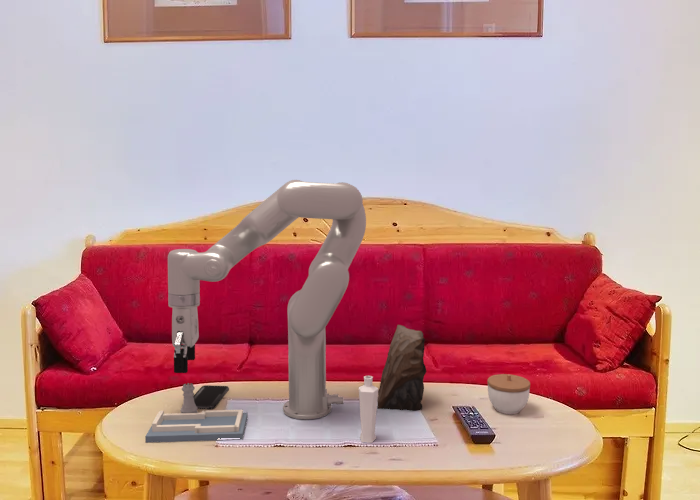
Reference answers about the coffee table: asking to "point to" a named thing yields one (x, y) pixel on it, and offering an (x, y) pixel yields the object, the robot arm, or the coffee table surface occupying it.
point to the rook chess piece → (188, 399)
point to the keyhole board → (197, 426)
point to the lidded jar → (508, 392)
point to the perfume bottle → (368, 409)
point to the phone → (209, 396)
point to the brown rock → (403, 372)
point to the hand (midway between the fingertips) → (184, 366)
